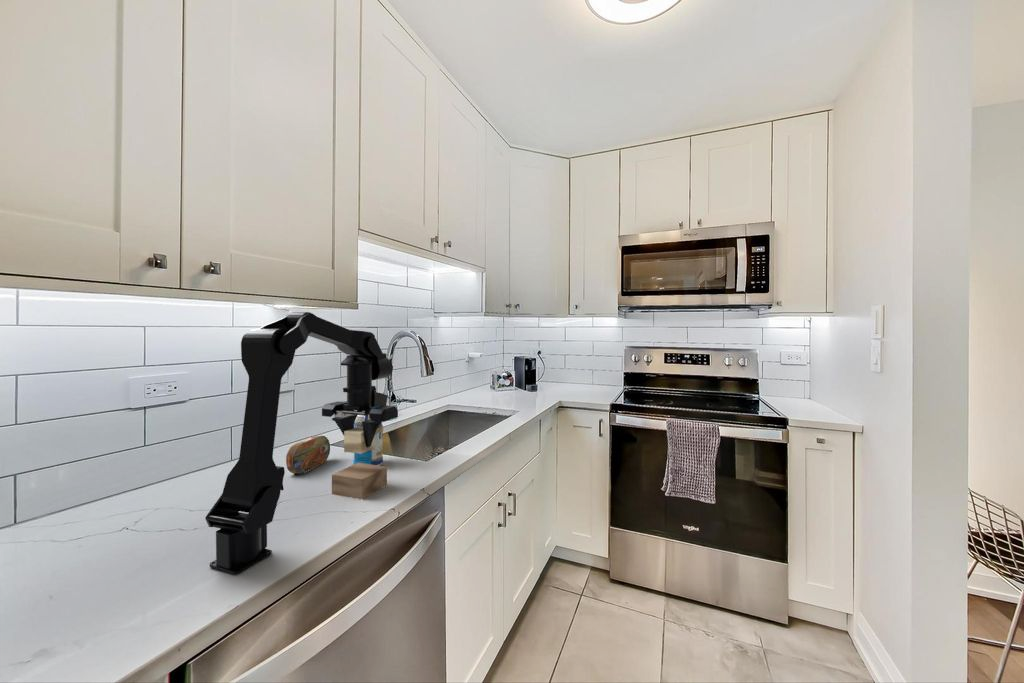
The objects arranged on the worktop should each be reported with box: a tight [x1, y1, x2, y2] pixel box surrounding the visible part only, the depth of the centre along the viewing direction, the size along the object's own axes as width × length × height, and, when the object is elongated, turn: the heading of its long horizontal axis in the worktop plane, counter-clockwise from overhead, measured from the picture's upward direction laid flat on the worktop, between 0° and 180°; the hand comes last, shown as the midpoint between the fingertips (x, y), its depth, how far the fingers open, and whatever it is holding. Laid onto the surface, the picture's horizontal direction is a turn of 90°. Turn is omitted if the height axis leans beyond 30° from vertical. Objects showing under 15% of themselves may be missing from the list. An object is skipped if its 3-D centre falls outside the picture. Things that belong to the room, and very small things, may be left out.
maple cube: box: [343, 427, 375, 454], centre depth 95 cm, size 5×5×5 cm
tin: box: [285, 435, 331, 475], centre depth 110 cm, size 15×3×8 cm, turn 168°
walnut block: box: [331, 463, 388, 500], centre depth 96 cm, size 9×9×5 cm
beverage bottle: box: [352, 406, 384, 466], centre depth 113 cm, size 8×8×20 cm
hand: (359, 445), depth 95 cm, fingers closed on maple cube, 5 cm apart
